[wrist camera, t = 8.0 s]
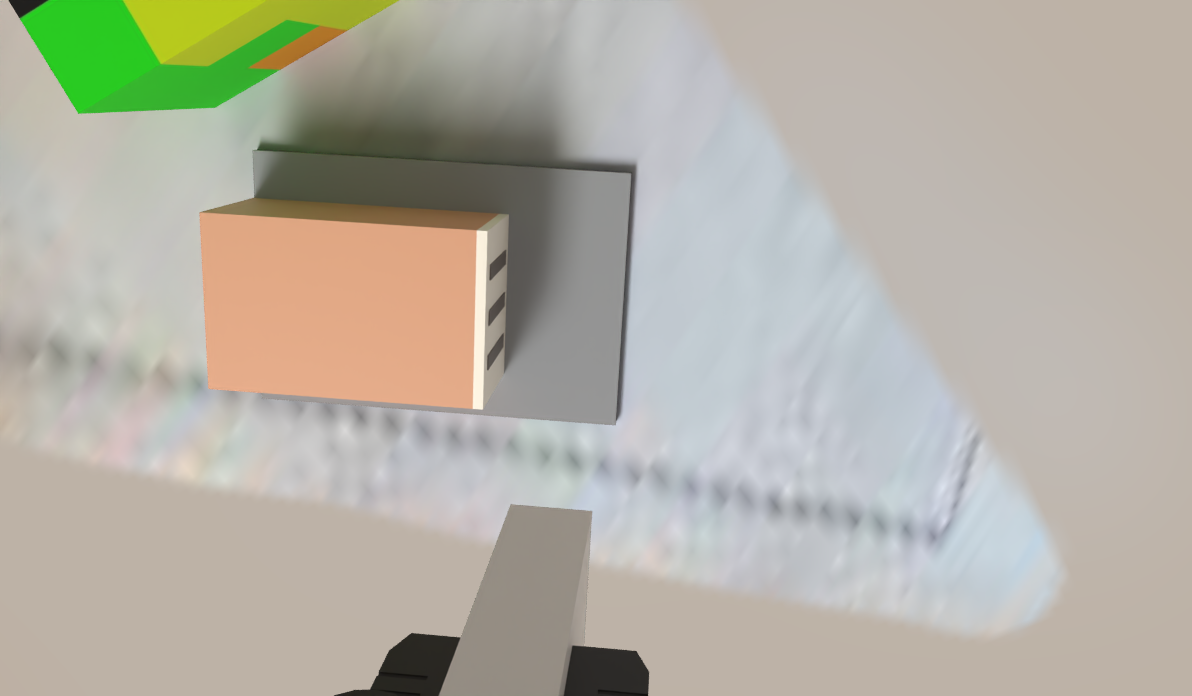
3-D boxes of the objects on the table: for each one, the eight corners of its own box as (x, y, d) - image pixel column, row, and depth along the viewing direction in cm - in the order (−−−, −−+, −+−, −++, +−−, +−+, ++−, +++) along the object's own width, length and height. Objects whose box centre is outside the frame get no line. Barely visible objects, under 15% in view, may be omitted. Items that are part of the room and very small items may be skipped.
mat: (256, 149, 42) (252, 150, 41) (631, 172, 41) (631, 173, 40) (265, 395, 45) (261, 398, 44) (615, 422, 44) (615, 425, 43)
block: (509, 214, 41) (253, 197, 42) (488, 231, 36) (199, 212, 37) (505, 373, 43) (259, 355, 44) (483, 409, 38) (208, 388, 39)
